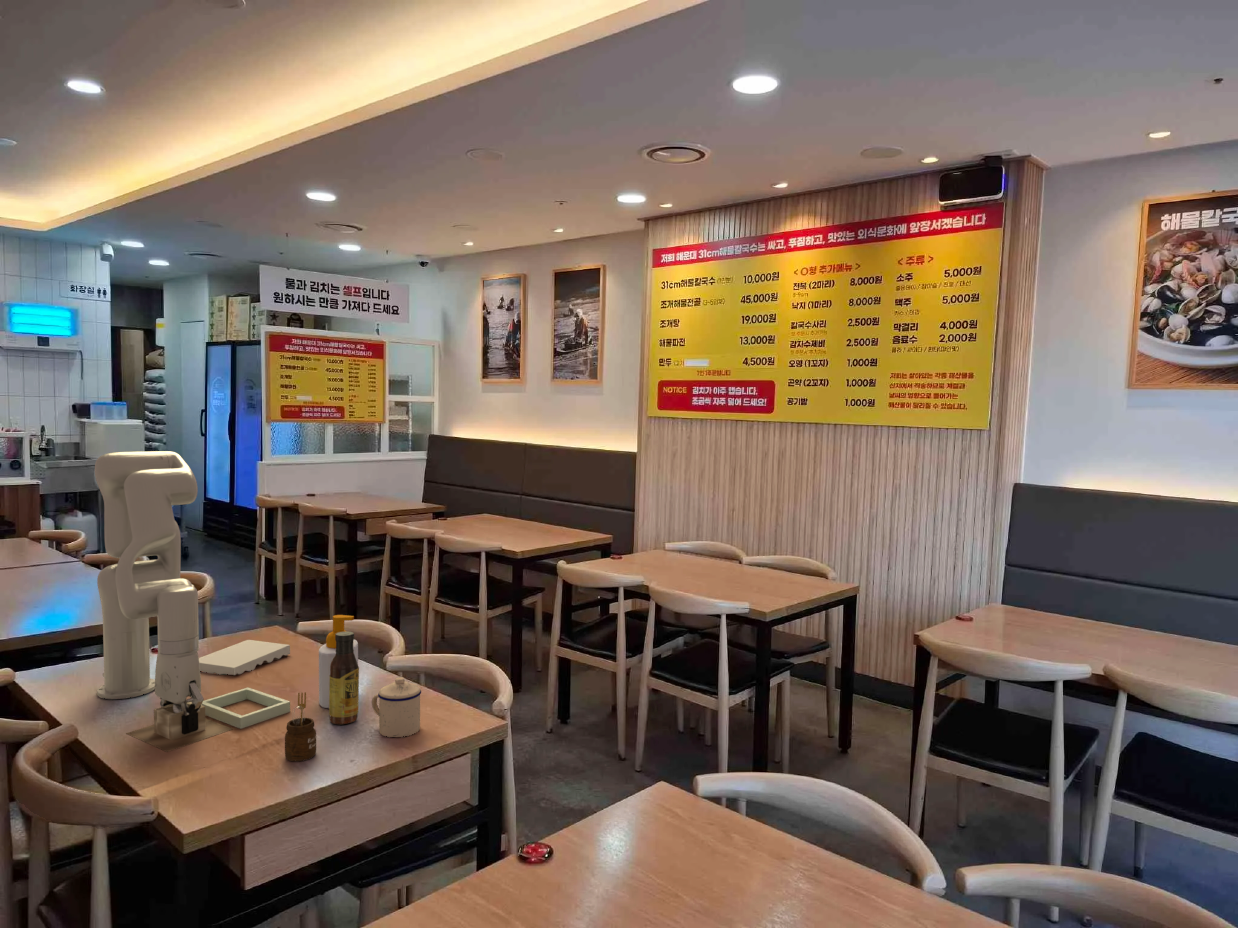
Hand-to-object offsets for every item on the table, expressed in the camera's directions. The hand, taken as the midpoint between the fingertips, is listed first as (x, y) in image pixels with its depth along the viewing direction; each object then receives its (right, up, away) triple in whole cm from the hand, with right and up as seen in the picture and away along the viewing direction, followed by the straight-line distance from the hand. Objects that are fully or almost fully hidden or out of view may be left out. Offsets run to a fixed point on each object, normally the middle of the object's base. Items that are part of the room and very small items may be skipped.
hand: (180, 727), depth 170 cm
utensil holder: (+28, -4, -7) cm, 30 cm away
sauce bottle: (+31, -2, +11) cm, 33 cm away
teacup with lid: (+43, -3, +7) cm, 44 cm away
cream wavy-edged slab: (-11, 0, +51) cm, 52 cm away
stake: (0, -1, 0) cm, 1 cm away
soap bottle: (+25, -1, +24) cm, 35 cm away
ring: (0, -1, 0) cm, 1 cm away
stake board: (0, -2, 0) cm, 2 cm away
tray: (+8, -2, +11) cm, 14 cm away
